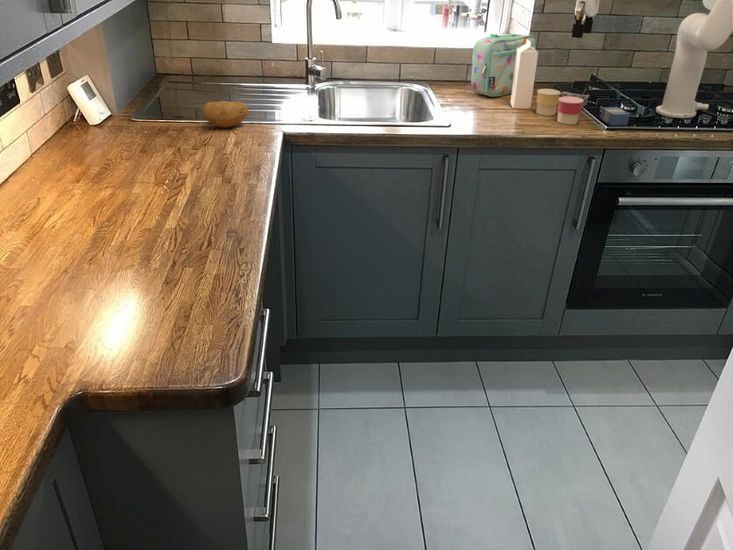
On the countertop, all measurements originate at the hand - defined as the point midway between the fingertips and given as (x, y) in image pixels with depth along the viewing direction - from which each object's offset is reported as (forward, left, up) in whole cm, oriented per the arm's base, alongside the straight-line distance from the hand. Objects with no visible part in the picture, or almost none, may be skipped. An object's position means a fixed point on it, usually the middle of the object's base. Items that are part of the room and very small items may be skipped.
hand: (581, 35), depth 195 cm
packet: (-13, +8, -25) cm, 30 cm away
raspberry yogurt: (+2, +10, -25) cm, 27 cm away
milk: (+16, -6, -25) cm, 30 cm away
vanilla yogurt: (+8, +1, -25) cm, 26 cm away
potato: (+110, +32, -25) cm, 117 cm away
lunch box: (+22, -24, -25) cm, 41 cm away
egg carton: (-2, -11, -25) cm, 28 cm away
